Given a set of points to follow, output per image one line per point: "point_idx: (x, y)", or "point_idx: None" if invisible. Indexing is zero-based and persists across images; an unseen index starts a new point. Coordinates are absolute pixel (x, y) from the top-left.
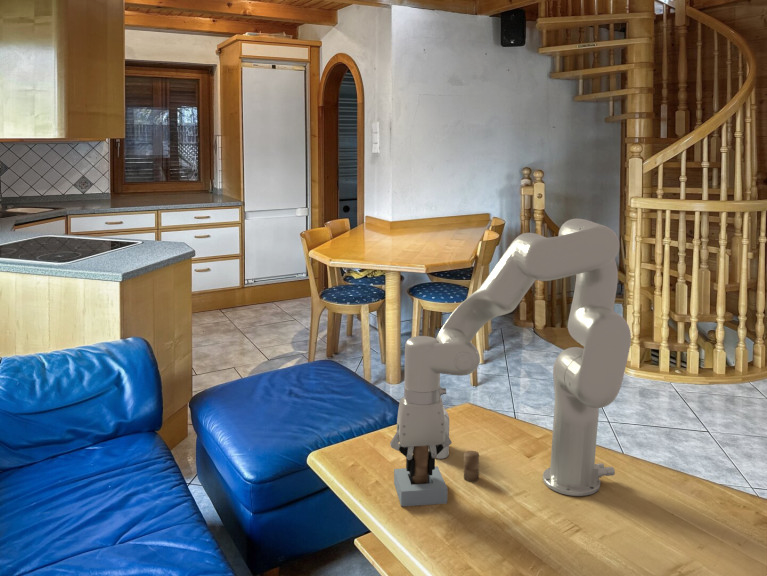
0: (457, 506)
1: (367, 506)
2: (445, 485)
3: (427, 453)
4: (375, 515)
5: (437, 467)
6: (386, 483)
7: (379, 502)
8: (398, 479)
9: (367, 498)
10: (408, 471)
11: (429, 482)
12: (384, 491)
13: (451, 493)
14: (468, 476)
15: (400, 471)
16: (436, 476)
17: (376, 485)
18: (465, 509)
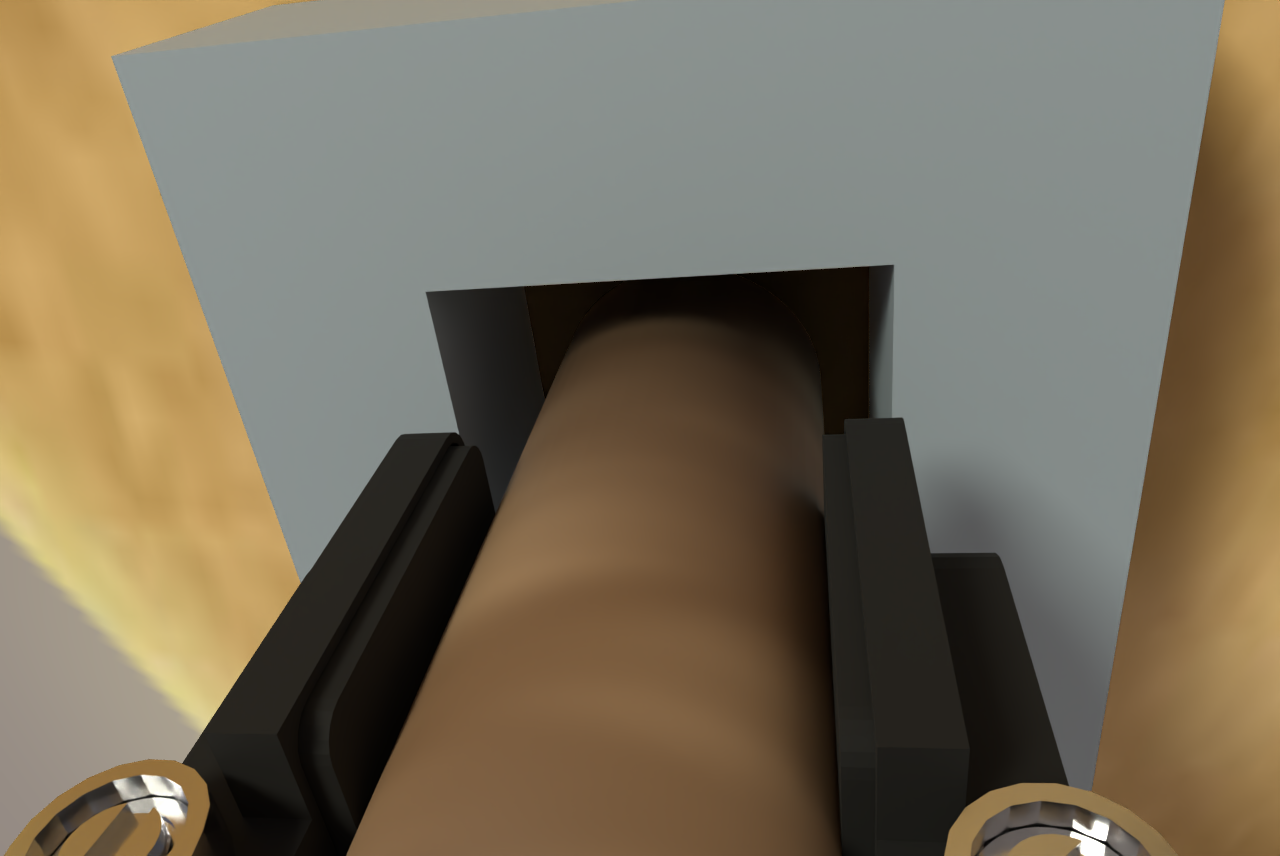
0: (1148, 677)
1: (63, 567)
2: (1089, 719)
3: None
4: (191, 712)
5: (1204, 10)
6: (149, 6)
7: (174, 508)
8: (277, 479)
9: (5, 414)
10: (441, 190)
11: (878, 297)
12: (175, 261)
13: (1203, 387)
14: None
15: (269, 179)
16: (1023, 439)
17: (8, 71)
18: (1225, 737)
